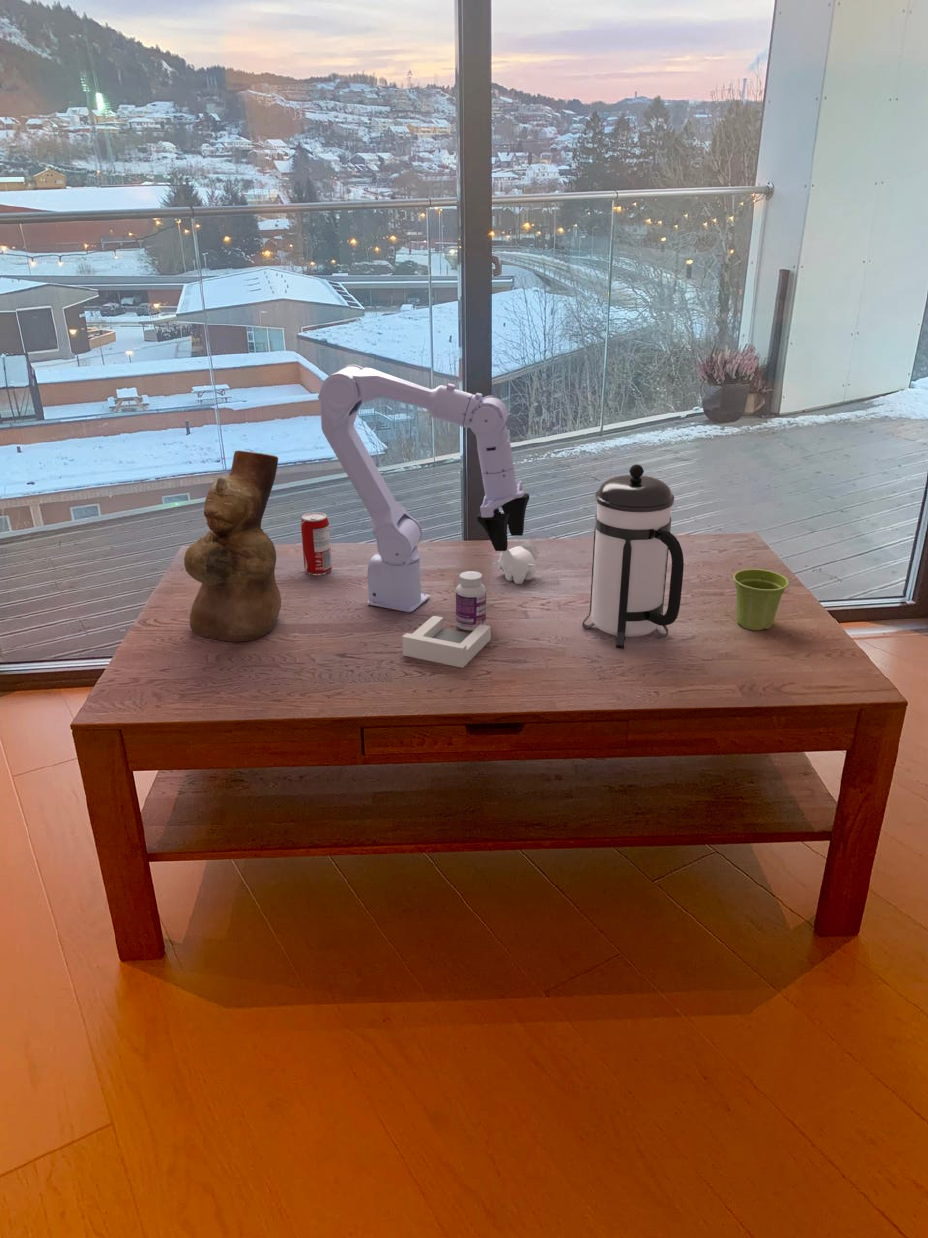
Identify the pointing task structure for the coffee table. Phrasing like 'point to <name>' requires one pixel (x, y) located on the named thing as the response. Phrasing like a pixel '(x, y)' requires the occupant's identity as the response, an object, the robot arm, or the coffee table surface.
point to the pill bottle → (470, 601)
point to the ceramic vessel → (236, 555)
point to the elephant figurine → (518, 562)
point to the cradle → (445, 643)
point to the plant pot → (758, 597)
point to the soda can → (316, 543)
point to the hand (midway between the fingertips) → (509, 542)
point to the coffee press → (634, 557)
